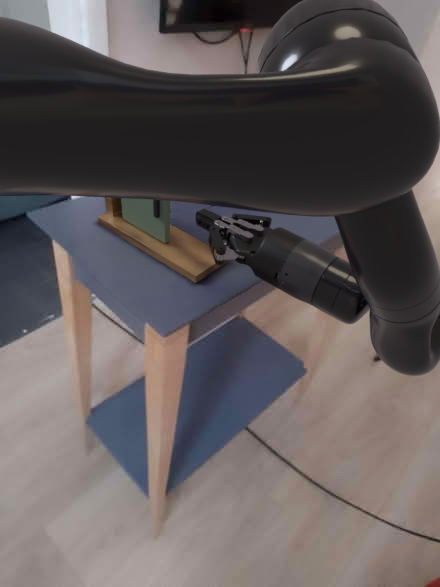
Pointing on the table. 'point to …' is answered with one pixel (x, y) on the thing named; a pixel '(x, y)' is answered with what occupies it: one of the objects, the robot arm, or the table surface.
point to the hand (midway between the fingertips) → (198, 215)
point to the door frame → (162, 244)
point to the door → (148, 216)
